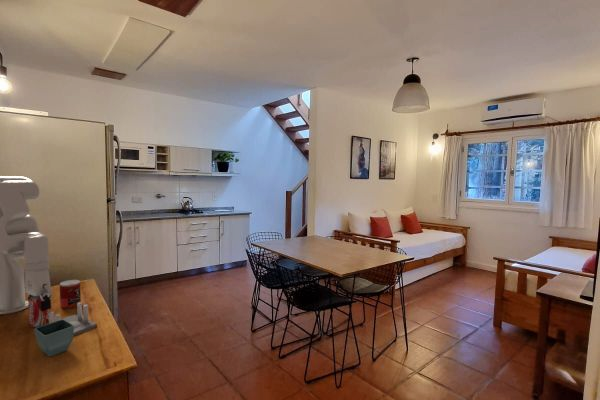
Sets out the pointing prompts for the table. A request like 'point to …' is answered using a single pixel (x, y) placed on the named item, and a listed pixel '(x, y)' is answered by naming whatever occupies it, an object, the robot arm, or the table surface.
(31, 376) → the table surface
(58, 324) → the flower pot
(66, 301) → the canned food
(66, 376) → the table surface
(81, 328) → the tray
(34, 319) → the soda can
